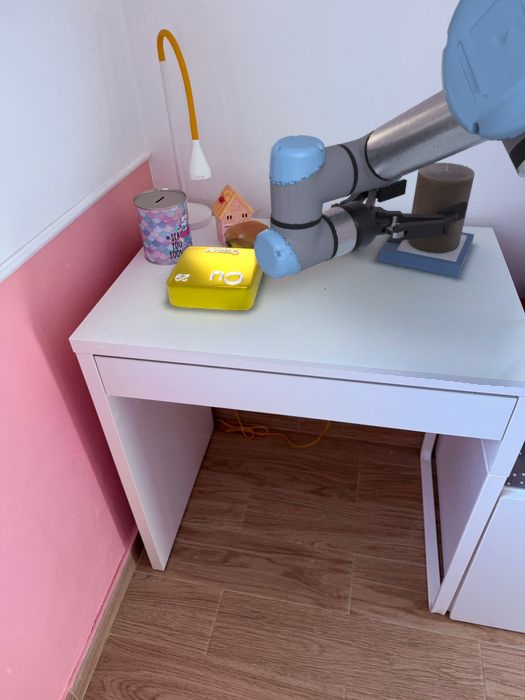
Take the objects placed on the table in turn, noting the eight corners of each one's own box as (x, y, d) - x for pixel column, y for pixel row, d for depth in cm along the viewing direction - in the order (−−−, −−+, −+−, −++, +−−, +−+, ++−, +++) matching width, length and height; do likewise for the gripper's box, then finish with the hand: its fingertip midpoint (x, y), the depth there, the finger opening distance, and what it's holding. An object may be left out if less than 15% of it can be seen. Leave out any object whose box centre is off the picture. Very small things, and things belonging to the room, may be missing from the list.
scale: (471, 245, 105) (474, 232, 103) (458, 277, 95) (461, 263, 93) (398, 232, 110) (399, 219, 108) (378, 261, 100) (379, 248, 99)
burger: (273, 236, 110) (273, 215, 107) (272, 258, 103) (272, 236, 100) (227, 237, 111) (225, 216, 108) (223, 258, 103) (221, 237, 100)
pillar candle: (441, 259, 95) (458, 177, 85) (396, 242, 100) (408, 163, 91) (469, 241, 100) (488, 162, 90) (425, 226, 105) (438, 150, 96)
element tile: (264, 268, 100) (264, 245, 97) (251, 312, 88) (250, 288, 85) (188, 264, 102) (185, 242, 99) (166, 307, 90) (162, 283, 87)
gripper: (295, 225, 94) (380, 196, 103) (397, 281, 78) (487, 242, 87) (296, 184, 90) (385, 158, 99) (404, 235, 73) (498, 198, 82)
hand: (433, 197), depth 93 cm, fingers open, 13 cm apart
